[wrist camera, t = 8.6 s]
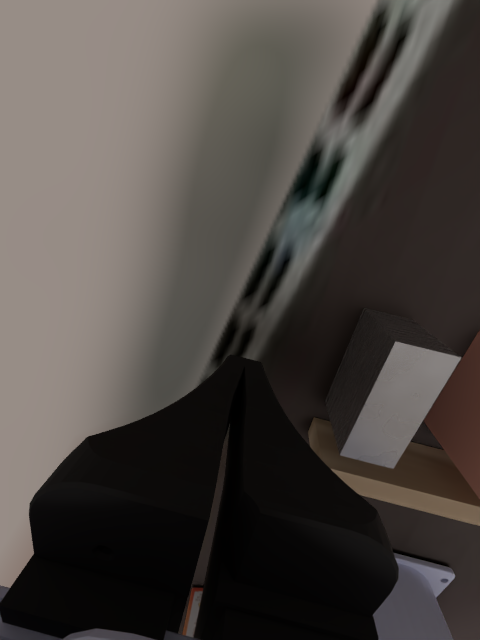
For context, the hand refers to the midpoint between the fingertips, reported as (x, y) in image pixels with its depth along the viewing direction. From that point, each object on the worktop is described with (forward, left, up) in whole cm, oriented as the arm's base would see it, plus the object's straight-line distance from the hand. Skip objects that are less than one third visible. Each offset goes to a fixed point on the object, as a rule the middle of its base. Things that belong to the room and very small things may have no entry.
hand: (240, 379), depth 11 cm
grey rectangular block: (0, -7, -5) cm, 8 cm away
